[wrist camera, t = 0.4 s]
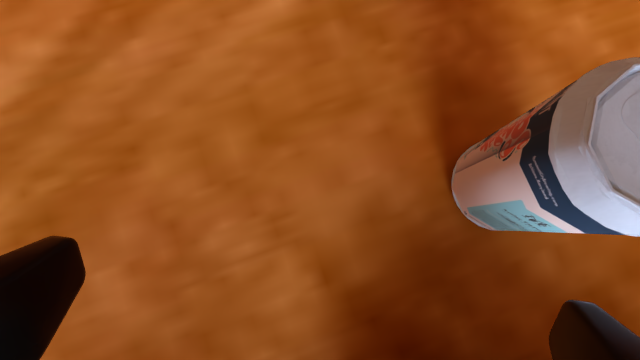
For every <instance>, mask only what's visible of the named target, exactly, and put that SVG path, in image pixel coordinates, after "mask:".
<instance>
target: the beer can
mask: <svg viewBox="0 0 640 360" xmlns="http://www.w3.org/2000/svg"><path fill="white" fill-rule="evenodd" d="M452 192H453V196H454V199H455V201H456V204H457V206H458V207H459V209H460V210H461V212H462V213H463V214H464V215H465V216H466V217H467V218H468V219H469V220H471V221H472V222H474V223H475V224H477V225H478V226H481V227H483V228H486V229H489V230H501V231H504V230H509V231H535V232H561V233H587V234H613V235H630V236H640V58H637V57H634V58H627V59H622V60H617V61H612V62H609V63H606V64H604V65H601V66H599V67H597V68H595V69H593V70H591V71H589V72H588V73H586V74H584V75H583V76H582V77H581V78H580V79H578V80H577V81H575V82H574V83H572V84H570V85H569V86H567V87H566V88H564V89H562V90H561V91H559V92H558V93H556V94H555V95H553V96H551V97H550V98H548V99H547V100H545V101H543V102H542V103H540V104H539V105H537V106H536V107H534V108H532V109H531V110H529V111H528V112H526V113H524V114H523V115H521V116H520V117H518V118H517V119H515V120H513V121H512V122H510V123H509V124H507V125H505V126H504V127H502V128H501V129H499V130H497V131H496V132H494V133H493V134H491V135H490V136H488V137H486V138H485V139H483V140H482V141H480V142H478V143H476V144H475V145H473V146H471V147H470V148H469V149H468V150H466V151H465V152H464V153H463V154H462V155H461V156H460V158H459V159H458V161H457V163H456V165H455V168H454V170H453V175H452Z"/></svg>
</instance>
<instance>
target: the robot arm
mask: <svg viewBox="0 0 640 360" xmlns="http://www.w3.org/2000/svg"><path fill="white" fill-rule="evenodd" d="M84 280H85V267H84V264H83V260H82V257H81V253H80V250H79V247H78V244H77V242H76V241H75V240H74V239H72V238H69V237H61V236H50V237H47V238H44V239H42V240H39V241H37V242H34V243H32V244H29V245H27V246H24V247H22V248H19V249H17V250H14V251H12V252H9V253H7V254H4V255H2V256H0V360H40V358H41V357H42V355H43V353H44V352H45V350H46V348H47V347H48V345H49V343H50V342H51V340H52V338H53V336H54V335H55V333H56V331H57V329H58V327H59V326H60V324H61V322H62V320H63V319H64V317H65V315H66V313H67V311H68V310H69V308H70V306H71V304H72V303H73V301H74V299H75V297H76V296H77V294H78V292H79V290H80V288H81V287H82V285H83V283H84ZM549 346H550V350H551V355H552V359H553V360H640V338H639V337H638V336H637V335H636V334H634V333H633V332H632V331H630V330H629V329H628V328H626V327H625V326H624V325H622V324H621V323H620V322H618V321H617V320H616V319H614V318H613V317H612V316H610V315H609V314H608V313H606V312H605V311H604V310H603V309H601V308H600V307H599V306H597V305H596V304H594V303H591V302H585V301H577V300H568V301H566V302H565V303H564V304H563V305H562V307H561V309H560V312H559V314H558V316H557V318H556V320H555V322H554V324H553V326H552V329H551V331H550V335H549Z"/></svg>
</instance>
